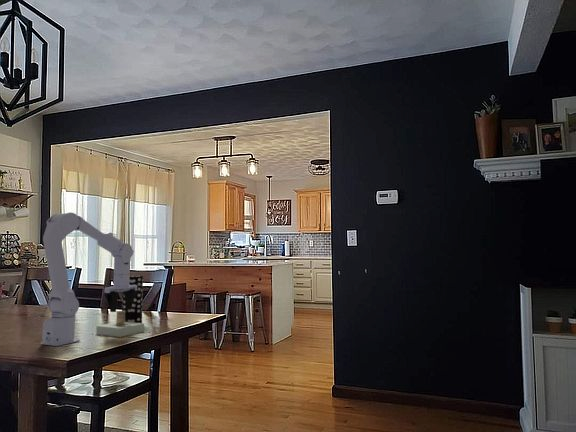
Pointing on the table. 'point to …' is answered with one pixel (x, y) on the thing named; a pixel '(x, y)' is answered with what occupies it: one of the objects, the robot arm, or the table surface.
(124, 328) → the wick holder
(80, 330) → the table surface
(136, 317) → the spotted tube
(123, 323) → the peg
